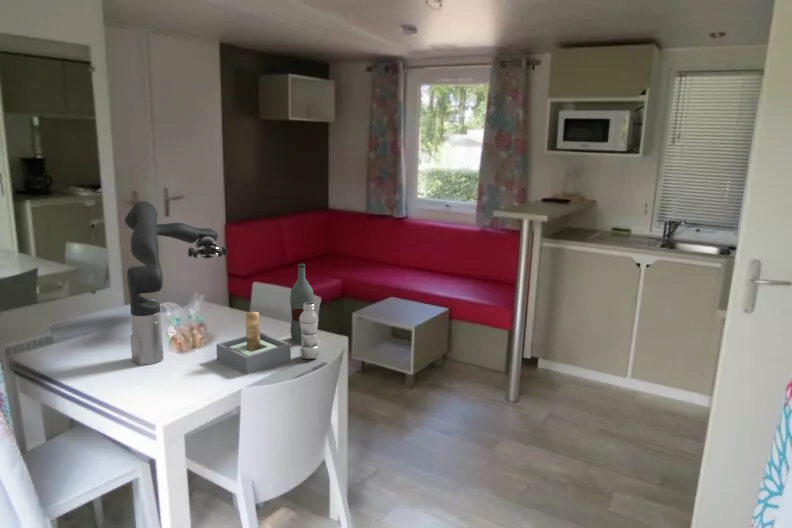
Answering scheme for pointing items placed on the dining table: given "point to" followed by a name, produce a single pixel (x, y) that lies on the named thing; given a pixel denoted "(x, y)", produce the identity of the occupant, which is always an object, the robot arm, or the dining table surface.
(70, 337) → the dining table surface
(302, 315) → the plastic bottle
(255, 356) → the box
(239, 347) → the plate
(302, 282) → the vodka
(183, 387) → the dining table surface
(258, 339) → the peg
